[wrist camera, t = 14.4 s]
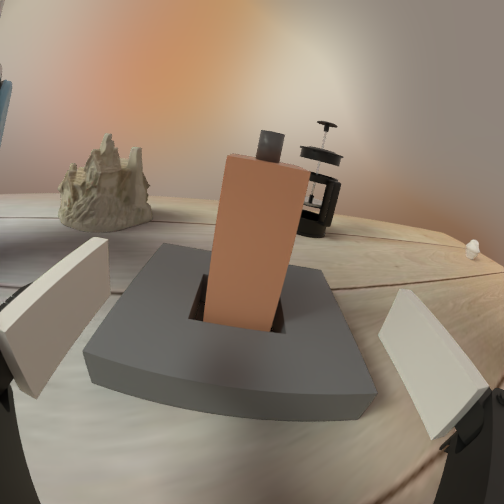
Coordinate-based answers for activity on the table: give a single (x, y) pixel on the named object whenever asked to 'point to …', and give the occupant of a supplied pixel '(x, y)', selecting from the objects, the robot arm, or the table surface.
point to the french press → (314, 222)
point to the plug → (254, 236)
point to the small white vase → (472, 249)
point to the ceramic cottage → (105, 191)
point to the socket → (230, 348)
